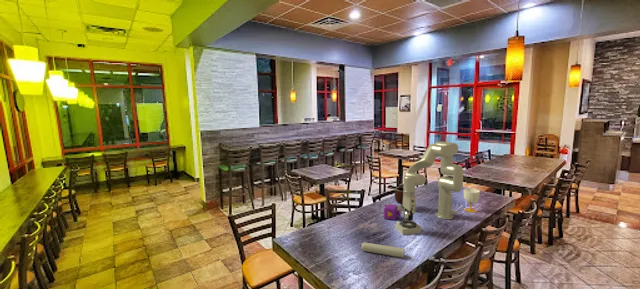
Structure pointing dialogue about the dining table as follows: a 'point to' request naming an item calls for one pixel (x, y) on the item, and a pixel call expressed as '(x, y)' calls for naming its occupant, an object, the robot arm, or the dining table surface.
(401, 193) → the mate gourd
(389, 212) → the toy camera
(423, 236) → the dining table surface
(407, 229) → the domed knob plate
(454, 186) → the robot arm
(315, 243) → the dining table surface
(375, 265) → the dining table surface
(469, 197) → the cup
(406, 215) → the lens
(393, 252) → the tube
